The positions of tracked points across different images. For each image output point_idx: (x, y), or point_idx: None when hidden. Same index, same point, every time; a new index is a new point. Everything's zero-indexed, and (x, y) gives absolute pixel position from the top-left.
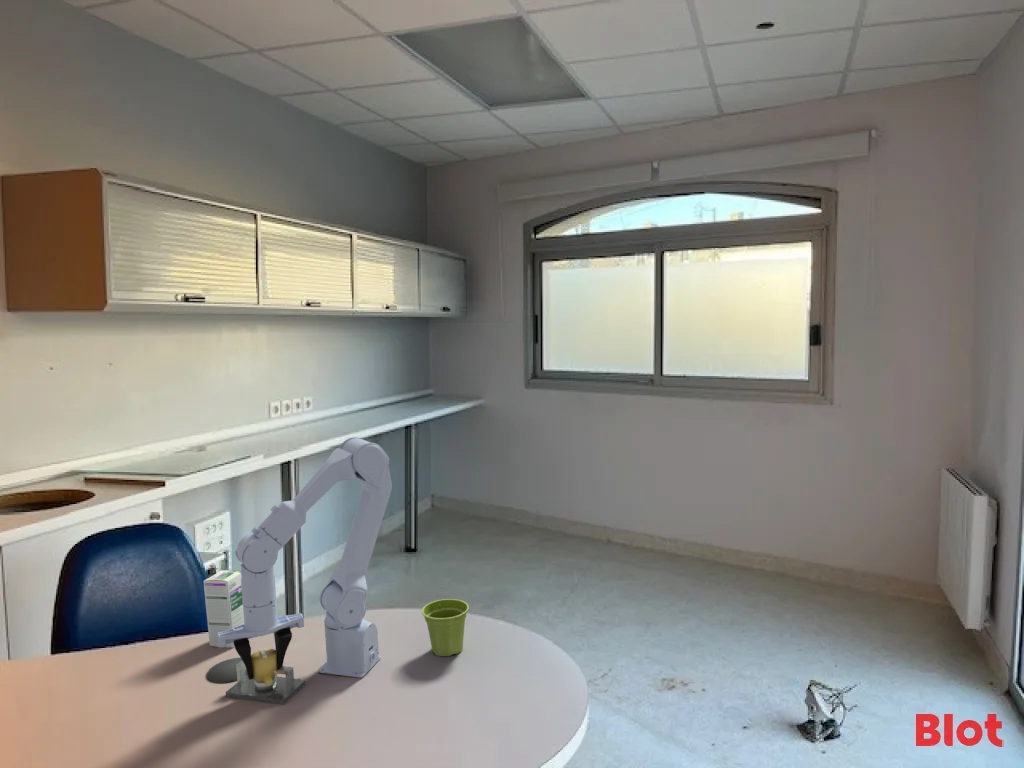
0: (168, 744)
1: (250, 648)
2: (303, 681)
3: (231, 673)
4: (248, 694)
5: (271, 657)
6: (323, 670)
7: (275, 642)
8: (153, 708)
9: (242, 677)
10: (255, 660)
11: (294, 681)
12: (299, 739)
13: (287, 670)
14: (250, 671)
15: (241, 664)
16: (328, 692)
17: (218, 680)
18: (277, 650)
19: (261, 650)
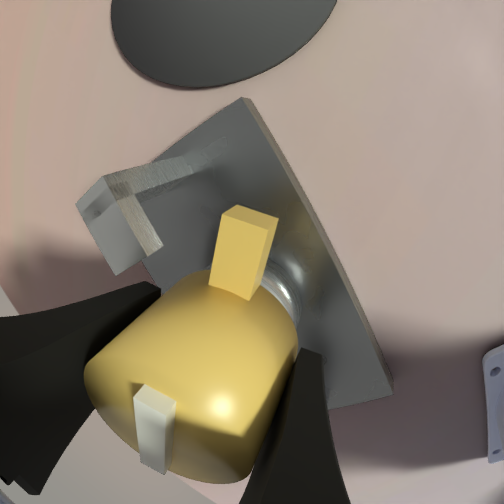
0: (25, 294)
1: (38, 491)
2: (381, 395)
3: (187, 13)
4: None
5: (194, 477)
6: (490, 377)
7: (258, 495)
8: (2, 110)
9: (156, 192)
10: (109, 424)
11: (360, 371)
12: (224, 484)
13: None
14: None
15: (97, 226)
16: (390, 453)
17: (127, 47)
18: (251, 487)
19: (140, 420)
